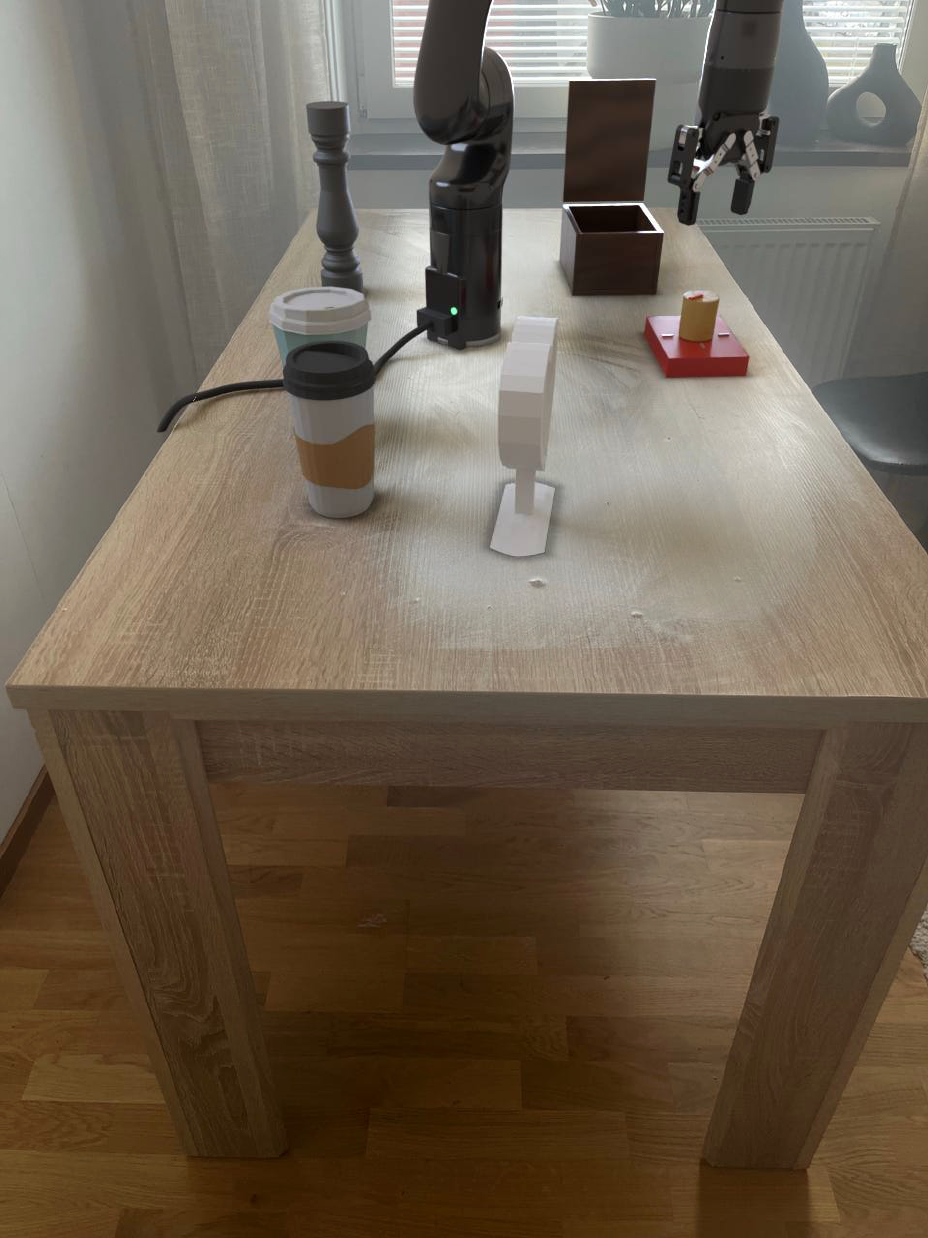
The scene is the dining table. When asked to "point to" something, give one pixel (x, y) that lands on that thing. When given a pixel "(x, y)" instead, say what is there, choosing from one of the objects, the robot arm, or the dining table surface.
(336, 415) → the coffee cup
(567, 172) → the box lid
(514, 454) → the heart sculpture
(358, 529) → the dining table surface
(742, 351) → the panel
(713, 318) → the valve knob
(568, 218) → the dark wooden box
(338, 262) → the candle holder
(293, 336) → the disposable coffee cup
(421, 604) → the dining table surface
